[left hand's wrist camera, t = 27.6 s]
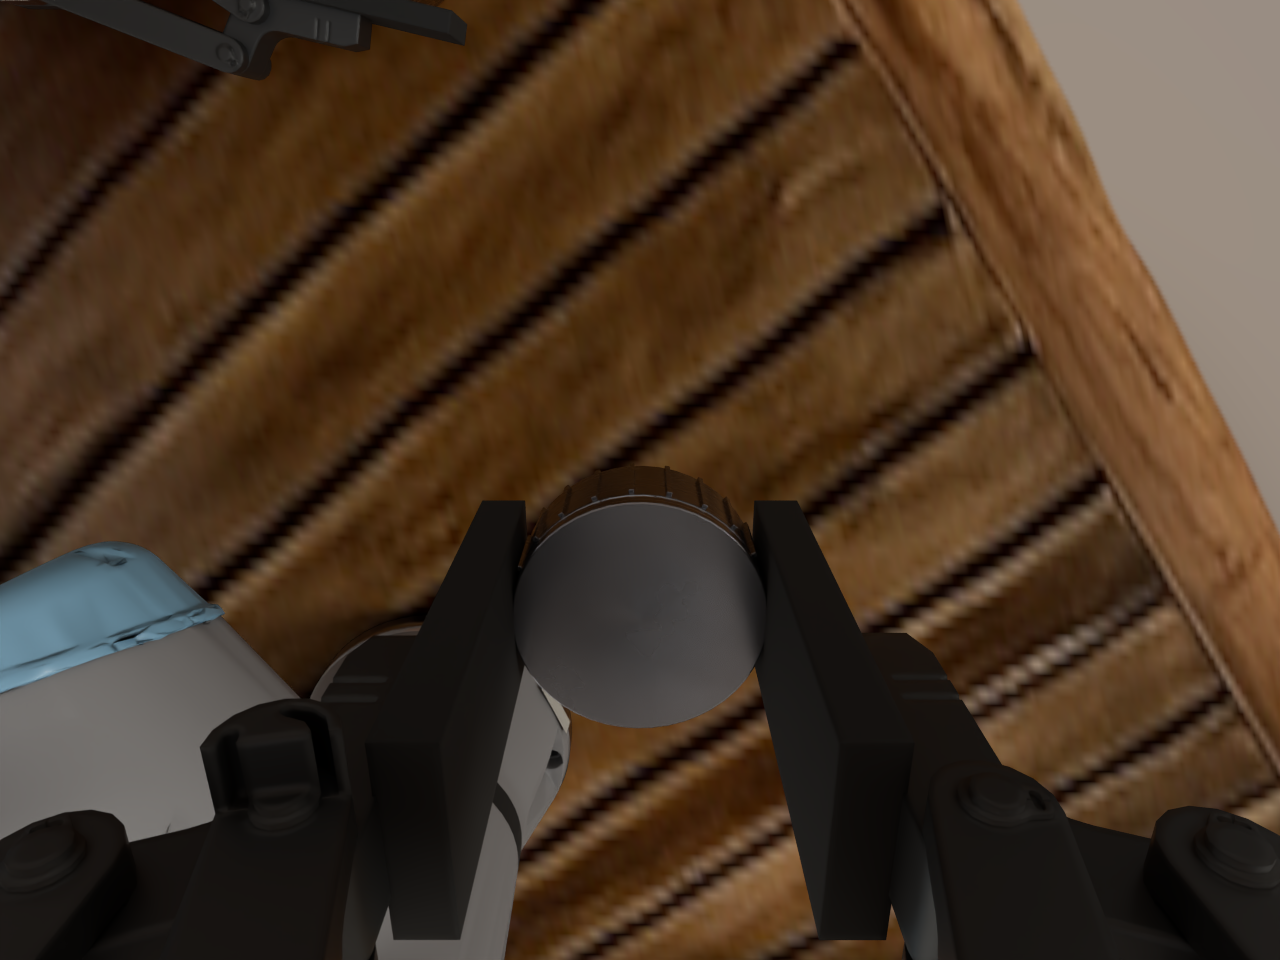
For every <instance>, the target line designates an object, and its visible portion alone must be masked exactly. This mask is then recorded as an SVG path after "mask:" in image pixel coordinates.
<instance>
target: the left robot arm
mask: <svg viewBox="0 0 1280 960" xmlns="http://www.w3.org/2000/svg"><path fill="white" fill-rule="evenodd" d="M526 538H527V528H526V510H525V501H482V503H481V505H480V507H479V509H478V511H477V513H476V515H475V517H474V519H473V521H472V523H471V525H470V527H469V529H468V531H467V534H466V536H465V538H464V540H463V542H462V544H461V546H460V548H459V550H458V552H457V554H456V556H455V558H454V560H453V562H452V564H451V566H450V568H449V570H448V573H447V575H446V577H445V579H444V581H443V583H442V585H441V587H440V589H439V591H438V593H437V595H436V597H435V599H434V601H433V603H432V605H431V607H430V610H429V612H428V614H427V615H420V616H411V617H405V618H400V619H396V620H392V621H389V622H386V623H383V624H381V625H378V626H376V627H374V628H372V629H370V630H367V631H366V632H364V633H362V634H361V635H359V636H358V637H356V638H355V639H353V640H352V641H351V642H350V643H348V644H347V645H346V646H345V647H344V648H343V649H342V650H341V651H340V652H339V653H338V654H337V655H336V656H335V658H334V659H333V660H332V661H331V663H330V665H329V666H328V668H327V669H326V671H325V672H324V674H323V676H322V677H321V679H320V680H319V682H318V683H317V685H316V687H315V689H314V691H313V693H312V695H311V698H300V697H299V696H298V695H297V694H296V693H295V692H294V691H293V690H292V689H291V688H290V687H289V686H288V685H287V684H286V683H285V682H284V681H283V680H282V679H281V677H280V676H279V675H278V674H277V673H276V672H275V671H274V670H273V669H272V668H271V667H270V666H269V665H268V664H267V663H266V662H265V661H264V660H263V659H262V658H261V657H260V656H259V655H258V654H257V653H256V652H255V651H254V650H253V649H252V648H251V647H250V646H249V645H248V643H247V642H246V641H245V640H244V639H243V638H242V637H241V636H240V635H239V634H238V633H237V632H236V631H235V630H234V629H233V628H232V627H231V626H230V625H229V624H228V623H227V622H226V621H225V620H224V619H223V618H222V617H221V615H223V614H225V613H224V611H223V610H222V608H221V607H220V606H219V605H216V604H209V603H207V602H206V601H205V600H204V599H203V598H202V597H200V596H199V595H198V594H197V593H196V592H195V591H194V590H193V589H192V588H191V587H190V586H189V585H187V584H186V583H185V582H184V581H183V580H182V579H181V578H180V577H179V576H178V575H177V574H176V573H175V572H173V571H172V570H171V569H170V568H169V567H168V566H167V565H166V564H165V563H164V562H163V561H162V560H160V559H159V558H158V557H157V556H156V555H155V554H153V553H152V552H150V551H149V550H147V549H145V548H143V547H141V546H138V545H135V544H131V543H126V542H101V543H96V544H91V545H87V546H84V547H81V548H79V549H76V550H73V551H71V552H69V553H66V554H64V555H62V556H60V557H57V558H55V559H53V560H51V561H49V562H47V563H45V564H42V565H40V566H38V567H36V568H34V569H32V570H30V571H28V572H26V573H23V574H21V575H19V576H17V577H15V578H13V579H11V580H9V581H7V582H5V583H3V584H1V585H0V960H504V956H505V950H506V943H507V937H508V930H509V924H510V917H511V911H512V904H513V898H514V891H515V885H516V878H517V872H518V865H519V859H520V854H521V850H522V848H523V847H524V845H525V844H526V842H527V841H528V839H529V837H530V836H531V834H532V833H533V831H534V830H535V828H536V826H537V825H538V823H539V822H540V820H541V819H542V817H543V815H544V814H545V812H546V811H547V809H548V807H549V806H550V804H551V803H552V801H553V800H554V798H555V796H556V794H557V792H558V790H559V788H560V786H561V784H562V782H563V780H564V777H565V774H566V771H567V767H568V762H569V755H570V746H571V736H572V722H571V715H570V710H569V709H568V708H566V707H564V706H563V705H561V704H560V703H559V702H557V701H556V700H555V699H553V698H552V697H551V696H550V695H549V694H548V693H546V692H545V691H544V690H543V689H542V688H541V687H540V686H539V685H538V683H537V682H536V681H535V679H534V678H533V677H532V676H531V674H530V673H529V671H528V670H527V668H526V666H525V665H524V663H523V661H522V659H521V657H520V654H519V652H518V650H517V647H516V643H515V633H514V617H513V594H514V589H515V585H516V582H517V579H518V575H519V572H520V571H517V570H516V569H517V566H518V563H519V560H520V557H521V554H522V551H523V547H524V544H525V541H526ZM752 539H753V542H754V546H755V549H756V552H757V555H758V556H757V557H756V559H757V563H758V566H759V569H760V573H761V576H762V579H763V582H764V586H765V589H766V593H767V609H766V625H765V640H764V647H763V650H762V653H761V655H760V657H759V659H758V661H757V663H756V665H755V669H756V673H757V677H758V681H759V686H760V690H761V694H762V698H763V703H764V707H765V711H766V715H767V720H768V724H769V728H770V732H771V737H772V741H773V745H774V749H775V754H776V758H777V762H778V766H779V771H780V775H781V779H782V783H783V788H784V792H785V796H786V800H787V805H788V809H789V813H790V817H791V822H792V826H793V830H794V834H795V839H796V843H797V847H798V851H799V856H800V860H801V864H802V868H803V873H804V877H805V881H806V885H807V890H808V894H809V898H810V902H811V907H812V911H813V915H814V919H815V924H816V928H817V932H818V936H819V940H886V937H887V930H888V923H889V916H890V909H891V903H892V906H893V909H894V912H895V915H896V918H897V921H898V924H899V926H900V929H901V932H902V935H903V938H904V941H905V942H904V949H903V955H902V960H1280V836H1279V835H1277V834H1275V833H1274V832H1272V831H1270V830H1268V829H1266V828H1264V827H1262V826H1260V825H1258V824H1256V823H1254V822H1253V821H1251V820H1249V819H1246V818H1243V817H1240V816H1237V815H1234V814H1231V813H1228V812H1225V811H1221V810H1218V809H1213V808H1203V807H1194V806H1186V807H1181V808H1176V809H1171V810H1168V811H1167V812H1165V813H1164V814H1163V815H1162V816H1161V817H1160V818H1159V819H1158V820H1157V821H1156V824H1155V827H1154V831H1153V834H1152V838H1151V839H1150V838H1145V837H1141V836H1137V835H1132V834H1128V833H1124V832H1119V831H1115V830H1111V829H1106V828H1102V827H1098V826H1093V825H1090V824H1087V823H1083V822H1080V821H1077V820H1073V819H1070V818H1068V817H1066V814H1065V812H1064V811H1063V809H1062V808H1061V806H1060V805H1059V803H1058V801H1057V800H1056V798H1055V797H1054V795H1053V794H1052V793H1050V792H1049V791H1048V790H1047V789H1045V788H1044V787H1043V786H1042V785H1041V784H1039V783H1038V782H1037V781H1036V780H1034V779H1033V778H1031V777H1029V776H1027V775H1025V774H1023V773H1021V772H1019V771H1017V770H1015V769H1013V768H1010V767H1008V766H1004V765H1002V764H1001V762H1000V761H999V759H998V758H997V756H996V754H995V753H994V751H993V749H992V748H991V746H990V745H989V743H988V741H987V740H986V738H985V736H984V735H983V733H982V732H981V730H980V728H979V727H978V725H977V724H976V722H975V720H974V719H973V717H972V715H971V714H970V712H969V711H968V709H967V707H966V706H965V704H964V702H963V701H962V700H959V694H958V693H957V691H956V689H955V688H954V686H953V685H952V683H951V681H950V680H947V675H946V673H945V672H944V670H943V668H942V667H941V665H940V664H939V662H938V660H937V659H936V657H935V655H934V654H933V652H931V651H930V650H929V649H927V648H926V647H924V646H923V645H922V644H920V643H919V642H918V641H916V640H915V639H914V638H912V637H911V636H910V635H908V634H907V633H861V631H860V629H859V627H858V625H857V623H856V621H855V619H854V617H853V615H852V613H851V611H850V609H849V607H848V605H847V602H846V600H845V598H844V596H843V594H842V592H841V590H840V588H839V586H838V584H837V582H836V580H835V578H834V576H833V574H832V572H831V570H830V568H829V565H828V563H827V561H826V559H825V557H824V555H823V553H822V551H821V549H820V547H819V545H818V543H817V541H816V539H815V537H814V535H813V533H812V531H811V529H810V526H809V524H808V522H807V520H806V518H805V516H804V514H803V512H802V510H801V508H800V506H799V504H798V502H797V501H754V518H753V537H752Z"/></svg>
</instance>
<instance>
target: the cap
mask: <svg viewBox="0 0 1280 960" xmlns="http://www.w3.org/2000/svg"><path fill="white" fill-rule="evenodd" d="M757 556H758V555H757V552H756V549H755V546H754V542H753V539H752V536H751V533H750V529H749V526H748V524H747V522H745V523H743V522H742V520H741V519H740V517H739V516H738V514H737V513H736V511H735V510H734V509H733V508H732V507H731V504H730V500H729V499H728V498H727V497H725V498H723V497H722V496H720V495H719V494H718V493H717V492H716V491H715V490H713V489H712V488H710V487H709V486H707V485H706V484H704V483H703V479H701V478H699V477H698V479H695V478H693V477H691V476H688V475H685V474H683V473H680V472H677V471H674V470H670V467H669V466H665V468H660V467H649V466H635V464H634V463H633V464H630V466H628V467H622V468H615V469H610V470H607V471H604V472H600V470H597V471H595V474H594V475H592V476H590V477H588V478H585V479H583V480H581V481H580V482H578V483H576V484H575V485H573V486H571V487H570V486H569V485H567V486H566V487H565V488H564V492H563V493H562V494H561V495H559V496H558V497H557V498H556V499H555V500H554V501H553V502H552V503H551V504H550V505H549V506H548V508H547V509H546V508H543V509H542V510H541V513H540V516H539V520H538V522H537V524H536V526H535V528H534V530H533V532H532V535H531V536H530V535H527V538H526V541H525V544H524V547H523V551H522V554H521V557H520V560H519V563H518V566H517V569H516V570H517V571H520V572H519V575H518V579H517V582H516V585H515V589H514V594H513V617H514V633H515V643H516V647H517V650H518V652H519V654H520V657H521V659H522V661H523V663H524V665H525V666H526V668H527V670H528V671H529V673H530V674H531V676H532V677H533V678H534V679H535V681H536V682H537V683H538V685H539V686H540V687H541V688H542V689H543V690H544V691H545V692H546V693H548V694H549V695H550V696H551V697H552V698H553V699H555V700H556V701H557V702H559V703H560V704H561V705H563V706H564V707H566V708H568V709H570V710H571V711H573V712H575V713H577V714H579V715H581V716H584V717H586V718H588V719H591V720H594V721H597V722H600V723H604V724H608V725H613V726H619V727H629V728H653V727H661V726H668V725H672V724H676V723H680V722H684V721H686V720H689V719H692V718H694V717H697V716H699V715H701V714H703V713H705V712H707V711H709V710H711V709H713V708H714V707H716V706H717V705H719V704H720V703H721V702H723V701H724V700H726V699H727V698H728V697H729V696H730V695H731V694H733V693H734V692H735V691H736V690H737V689H738V688H739V687H740V686H741V684H742V683H743V682H744V681H745V680H746V679H747V677H748V676H749V674H750V673H751V671H752V670H753V668H754V667H755V665H756V663H757V661H758V659H759V657H760V655H761V653H762V650H763V647H764V640H765V625H766V609H767V593H766V589H765V586H764V582H763V579H762V576H761V573H760V569H759V566H758V563H757V559H756V557H757Z"/></svg>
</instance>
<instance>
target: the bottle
mask: <svg viewBox="0 0 1280 960" xmlns="http://www.w3.org/2000/svg"><path fill="white" fill-rule="evenodd" d="M410 1H414V2H419V3H423V4H427V5H431V6H435V7H436V6H438V5H439V4H440V3H441V2H442V1H444V0H410Z"/></svg>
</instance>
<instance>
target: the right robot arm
mask: <svg viewBox="0 0 1280 960" xmlns="http://www.w3.org/2000/svg"><path fill="white" fill-rule="evenodd" d="M0 1H2V2H5V3H9V4H13V5H17V6H20V7H24V8H28V9H64V10H67V11H69V12H72V13H74V14H77V15H80V16H82V17H85V18H87V19H90V20H92V21H95V22H98V23H100V24H103V25H105V26H108V27H110V28H113V29H115V30H118V31H121V32H123V33H126V34H128V35H131V36H133V37H136V38H139V39H141V40H144V41H146V42H149V43H151V44H154V45H156V46H159V47H162V48H164V49H167V50H169V51H172V52H174V53H177V54H180V55H182V56H185V57H187V58H190V59H192V60H195V61H197V62H200V63H203V64H205V65H208V66H210V67H213V68H215V69H218V70H221V71H223V72H227V73H231V74H234V75H238V76H242V77H246V78H250V79H254V80H262V79H265V78H266V77H267V76H268V75H269V74H270V71H271V61H270V57H271V55H272V52H273V50H274V48H275V46H276V44H277V43H278V42H279V41H280V40H282V39H284V38H287V37H295V38H299V39H303V40H308V41H312V42H316V43H320V44H324V45H329V46H333V47H337V48H341V49H345V50H350V51H354V52H359V51H364V50H369V49H370V41H371V30H372V24H376V25H380V26H384V27H389V28H393V29H397V30H401V31H405V32H409V33H414V34H418V35H422V36H426V37H430V38H434V39H439V40H443V41H447V42H451V43H455V44H459V45H463V46H464V45H465V37H466V29H467V24H466V23H465V22H464V21H463V20H462V19H461V18H459V17H458V16H457V15H456V14H455V13H454V12H453V11H451V10H447V9H443V8H439V7H435V6H431V5H427V4H423V3H419V2H414V1H410V0H213V1H214V2H216V3H217V4H219V5H220V6H222V7H223V8H224V9H226V10H227V11H229V12H230V13H231V14H230V16H229V19H228V21H227V24H226V26H225V29H224V31H223V33H222V32H220V31H217V30H215V29H212V28H210V27H207V26H204V25H202V24H199V23H197V22H194V21H192V20H189V19H187V18H184V17H182V16H179V15H177V14H174V13H172V12H169V11H167V10H164V9H162V8H159V7H156V6H154V5H151V4H149V3H146V2H144V1H141V0H0Z"/></svg>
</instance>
